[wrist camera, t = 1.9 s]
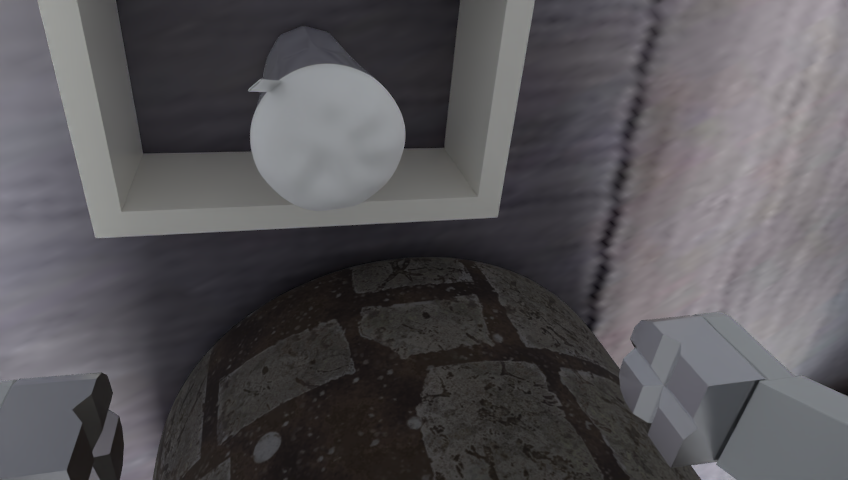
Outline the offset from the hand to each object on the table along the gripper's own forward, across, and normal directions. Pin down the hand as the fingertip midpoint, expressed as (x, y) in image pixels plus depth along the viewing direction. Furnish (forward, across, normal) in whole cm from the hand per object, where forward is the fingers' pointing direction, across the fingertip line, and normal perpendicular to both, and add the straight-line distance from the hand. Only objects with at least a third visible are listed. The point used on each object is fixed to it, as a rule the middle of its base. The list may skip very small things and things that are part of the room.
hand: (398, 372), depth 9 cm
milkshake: (+18, 0, 0) cm, 18 cm away
